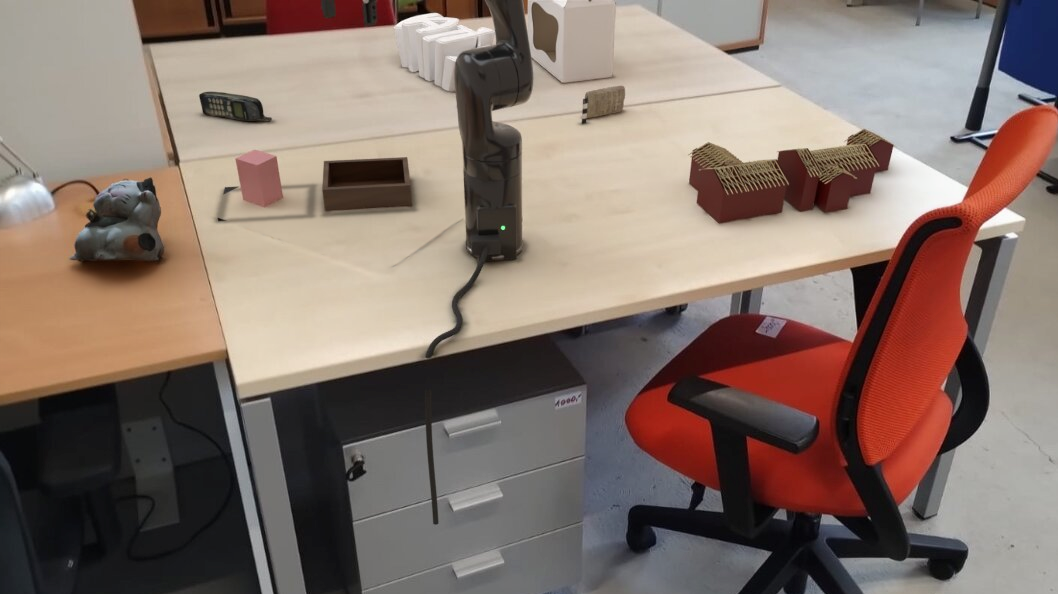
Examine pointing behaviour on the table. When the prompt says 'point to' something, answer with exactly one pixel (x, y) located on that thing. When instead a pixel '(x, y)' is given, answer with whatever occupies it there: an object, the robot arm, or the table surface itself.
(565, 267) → the table surface
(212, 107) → the mobile phone
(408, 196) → the crate
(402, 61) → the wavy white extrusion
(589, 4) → the gable box
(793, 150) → the toy houses
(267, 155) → the block
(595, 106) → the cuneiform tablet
